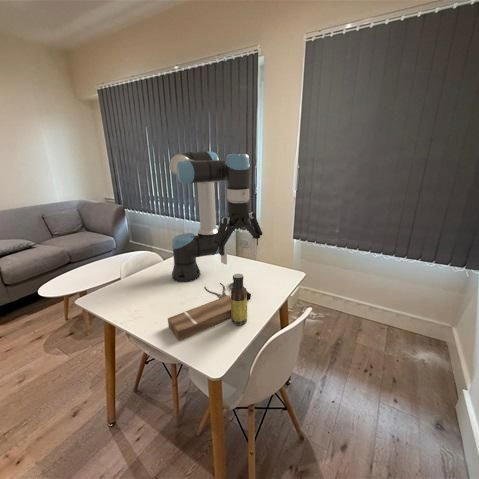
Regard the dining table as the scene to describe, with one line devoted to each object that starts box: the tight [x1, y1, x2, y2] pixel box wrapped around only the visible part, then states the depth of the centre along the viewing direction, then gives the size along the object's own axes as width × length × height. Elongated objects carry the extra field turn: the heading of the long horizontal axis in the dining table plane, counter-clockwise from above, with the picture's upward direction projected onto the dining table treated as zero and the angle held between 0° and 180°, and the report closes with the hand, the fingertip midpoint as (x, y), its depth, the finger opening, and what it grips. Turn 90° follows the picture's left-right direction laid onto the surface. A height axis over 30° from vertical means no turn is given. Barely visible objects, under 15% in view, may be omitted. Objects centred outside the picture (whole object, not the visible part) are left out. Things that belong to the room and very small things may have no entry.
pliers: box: [204, 282, 228, 299], centre depth 126 cm, size 10×1×20 cm
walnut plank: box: [167, 294, 232, 342], centre depth 105 cm, size 10×28×4 cm, turn 126°
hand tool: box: [243, 285, 252, 301], centre depth 127 cm, size 19×4×5 cm, turn 17°
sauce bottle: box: [230, 273, 248, 326], centre depth 101 cm, size 6×6×20 cm
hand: (239, 258), depth 96 cm, fingers open, 13 cm apart
